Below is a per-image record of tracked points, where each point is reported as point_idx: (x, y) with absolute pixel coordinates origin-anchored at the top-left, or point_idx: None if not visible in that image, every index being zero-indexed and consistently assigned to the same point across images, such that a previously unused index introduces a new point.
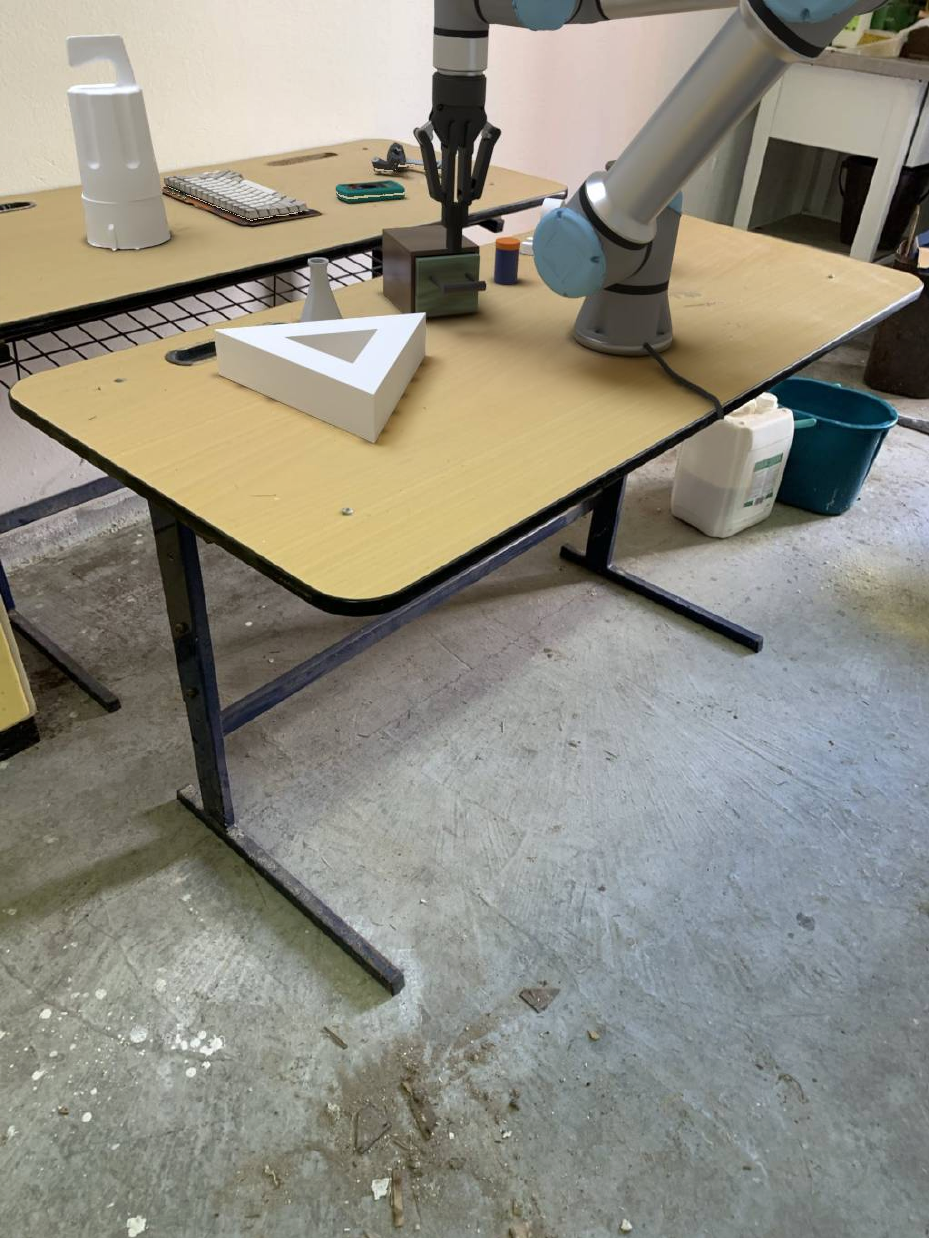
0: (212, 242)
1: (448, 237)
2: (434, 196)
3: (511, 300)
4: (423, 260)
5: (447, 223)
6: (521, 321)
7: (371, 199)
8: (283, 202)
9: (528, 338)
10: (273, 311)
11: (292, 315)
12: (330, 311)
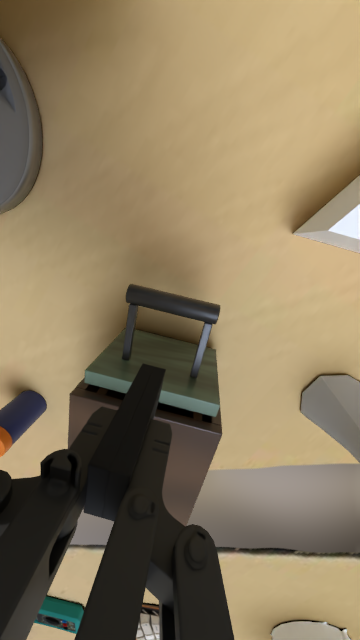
0: (251, 604)
1: (154, 411)
2: (217, 570)
3: (56, 349)
4: (208, 402)
5: (161, 434)
6: (80, 279)
7: (59, 602)
8: (147, 631)
9: (106, 212)
10: (341, 461)
11: (333, 442)
12: (350, 398)
